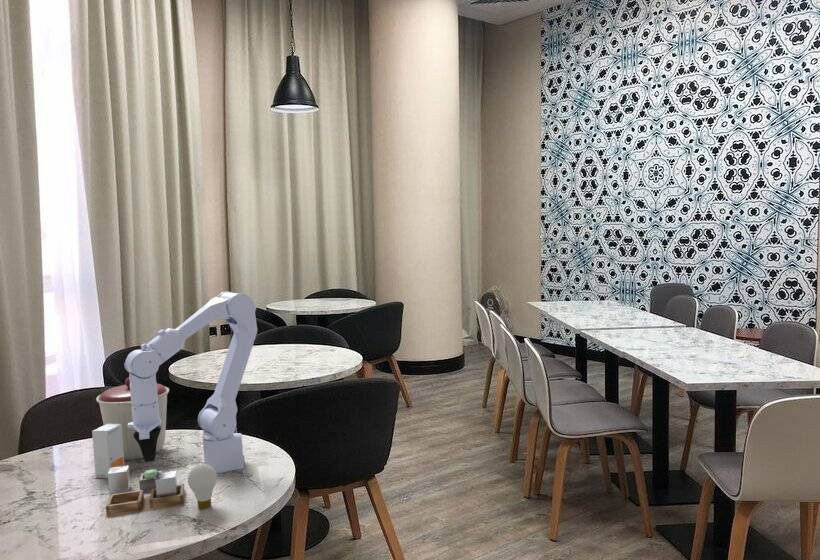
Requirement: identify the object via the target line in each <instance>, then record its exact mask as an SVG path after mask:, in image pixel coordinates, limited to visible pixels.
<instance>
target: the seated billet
mask: <svg viewBox="0 0 820 560" xmlns="http://www.w3.org/2000/svg"><path fill="white" fill-rule="evenodd" d="M177 477H178V476H177V471H176V470H173V471H165V472H162V473H157V475H156V479H155V482H156V494H157V498H160V497H167V496H174V495H178V490H177V485H178V480H177Z"/></svg>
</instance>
